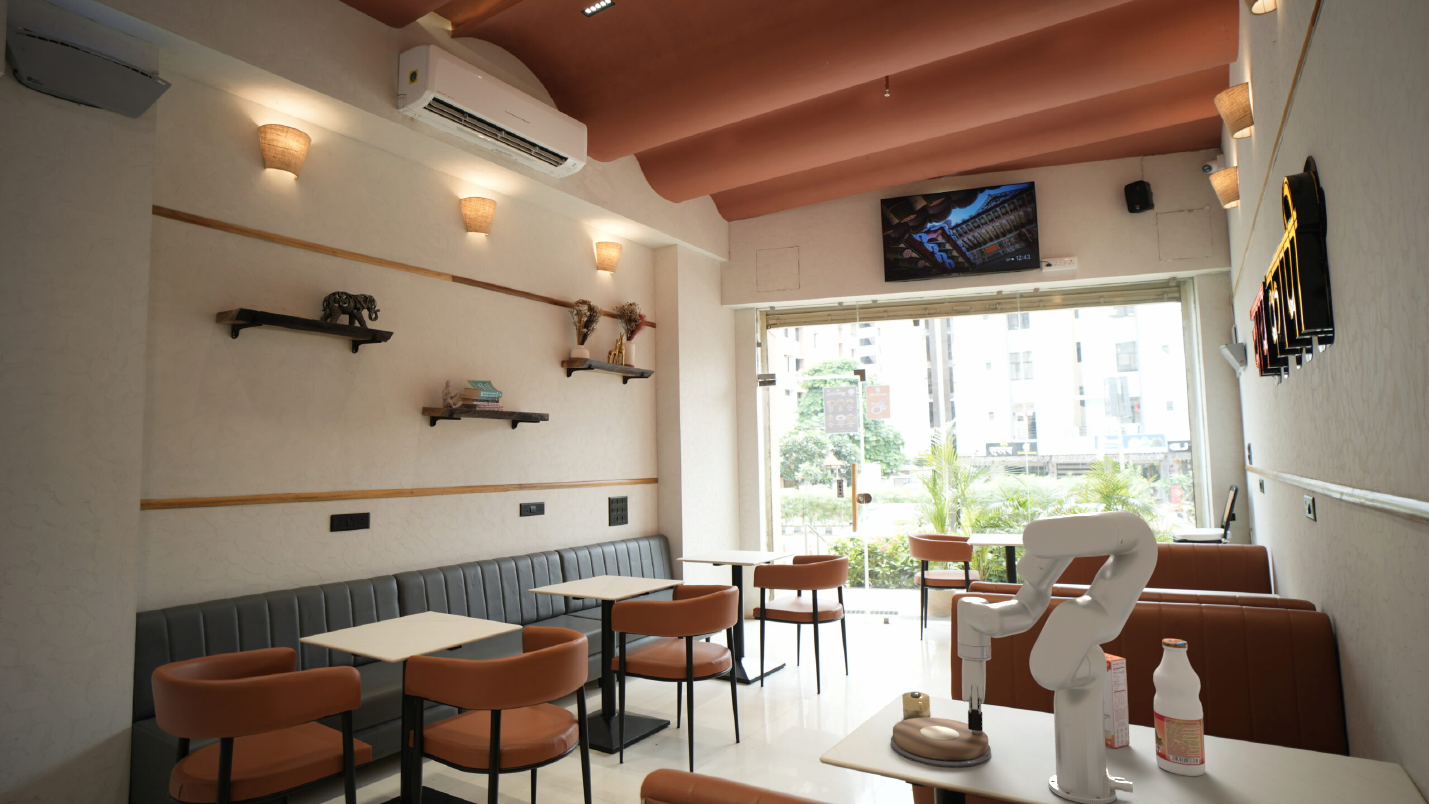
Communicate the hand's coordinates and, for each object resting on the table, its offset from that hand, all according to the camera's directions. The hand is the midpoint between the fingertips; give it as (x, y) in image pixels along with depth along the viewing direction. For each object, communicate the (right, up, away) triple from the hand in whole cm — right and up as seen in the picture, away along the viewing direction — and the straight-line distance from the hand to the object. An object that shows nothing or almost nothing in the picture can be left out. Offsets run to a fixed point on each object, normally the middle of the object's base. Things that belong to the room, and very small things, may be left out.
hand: (975, 728), depth 177 cm
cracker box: (+33, -6, +8) cm, 35 cm away
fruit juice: (+43, -5, -10) cm, 44 cm away
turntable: (-8, -4, +2) cm, 9 cm away
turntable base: (-8, -5, +2) cm, 10 cm away
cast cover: (-8, -7, +21) cm, 24 cm away
